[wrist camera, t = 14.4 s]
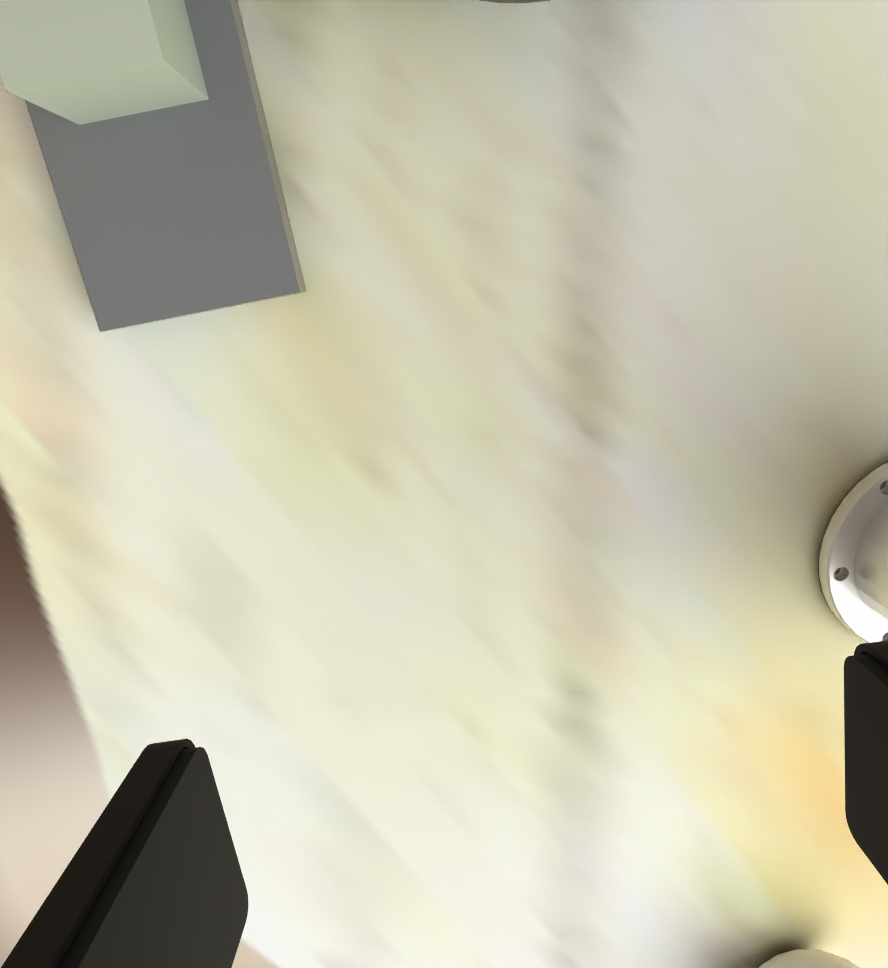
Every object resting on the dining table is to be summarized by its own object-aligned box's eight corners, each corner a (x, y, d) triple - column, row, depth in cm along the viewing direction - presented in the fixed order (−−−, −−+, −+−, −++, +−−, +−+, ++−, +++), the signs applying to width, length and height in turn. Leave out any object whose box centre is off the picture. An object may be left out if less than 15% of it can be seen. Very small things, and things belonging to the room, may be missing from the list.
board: (167, -293, 29) (150, -333, 28) (305, 291, 36) (299, 292, 34) (-64, -244, 30) (-97, -280, 28) (116, 328, 36) (100, 331, 34)
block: (170, -55, 30) (112, -134, 24) (208, 99, 32) (163, 59, 26) (33, -27, 30) (-57, -100, 24) (79, 124, 32) (5, 90, 26)
